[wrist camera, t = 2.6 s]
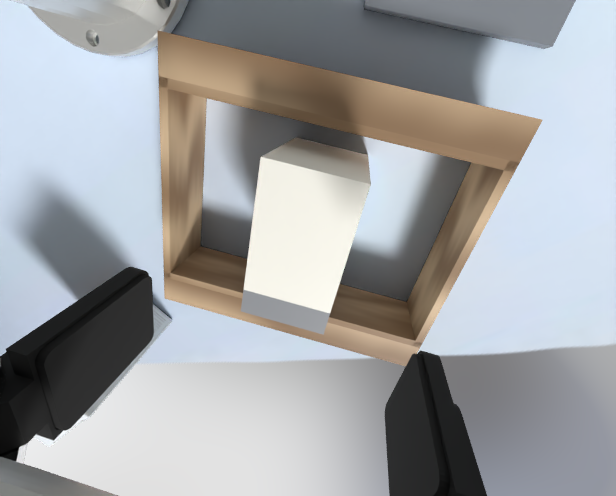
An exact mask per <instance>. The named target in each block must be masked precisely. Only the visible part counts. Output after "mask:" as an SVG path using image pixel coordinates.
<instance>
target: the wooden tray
mask: <svg viewBox="0 0 616 496" xmlns="http://www.w3.org/2000/svg"><path fill="white" fill-rule="evenodd" d="M157 33H158V70H159V107H160V144H161V181H162V218H163V255H164V292H165V299H169V300H172V301H176V302H179V303H183V304H186V305H190V306H194V307H197V308H201V309H204V310H208V311H211V312H215V313H218V314H222V315H225V316H229V317H233V318H236V319H240V320H243V321H247V322H250V323H254V324H257V325H261V326H264V327H268V328H272V329H275V330H279V331H282V332H286V333H289V334H293V335H296V336H300V337H303V338H307V339H311V340H314V341H318V342H321V343H325V344H328V345H332V346H335V347H339V348H342V349H346V350H350V351H353V352H357V353H360V354H364V355H367V356H371V357H374V358H378V359H381V360H385V361H389V362H392V363H396V364H399V365H403V366H406V365H407V363H408V361H409V360H410V358H411V356H412V354H414V353H415V354H417V352H418V350H419V348H420V347H421V345H422V343H423V341H424V339H425V337H426V335H427V334H428V332H429V330H430V328H431V326H432V324H433V322H434V321H435V319H436V317H437V315H438V313H439V311H440V309H441V308H442V306H443V304H444V302H445V300H446V298H447V296H448V295H449V293H450V291H451V289H452V287H453V285H454V283H455V282H456V280H457V278H458V276H459V274H460V272H461V270H462V269H463V267H464V265H465V263H466V261H467V259H468V257H469V256H470V254H471V252H472V250H473V248H474V246H475V244H476V243H477V241H478V239H479V237H480V235H481V233H482V231H483V230H484V228H485V226H486V224H487V222H488V220H489V218H490V217H491V215H492V213H493V211H494V209H495V207H496V205H497V204H498V202H499V200H500V198H501V196H502V194H503V192H504V191H505V189H506V187H507V185H508V183H509V181H510V179H511V178H512V176H513V174H514V172H515V170H516V168H517V166H518V165H519V163H520V161H521V159H522V157H523V155H524V153H525V152H526V150H527V148H528V146H529V144H530V142H531V140H532V139H533V137H534V135H535V133H536V131H537V129H538V127H539V126H540V124H541V122H542V120H541V119H536V118H532V117H528V116H524V115H519V114H515V113H511V112H506V111H502V110H498V109H493V108H489V107H485V106H481V105H476V104H472V103H468V102H463V101H459V100H455V99H450V98H446V97H442V96H438V95H433V94H429V93H425V92H420V91H416V90H412V89H407V88H403V87H399V86H395V85H390V84H386V83H382V82H377V81H373V80H369V79H364V78H360V77H356V76H352V75H347V74H343V73H339V72H334V71H330V70H326V69H321V68H317V67H313V66H309V65H304V64H300V63H296V62H291V61H287V60H283V59H278V58H274V57H270V56H266V55H261V54H257V53H253V52H248V51H244V50H240V49H235V48H231V47H227V46H223V45H218V44H214V43H210V42H205V41H201V40H197V39H192V38H188V37H184V36H180V35H175V34H171V33H167V32H162V31H158V30H157ZM207 98H208V99H212V100H216V101H221V102H225V103H229V104H233V105H237V106H241V107H245V108H249V109H254V110H258V111H262V112H266V113H270V114H274V115H278V116H282V117H286V118H291V119H295V120H299V121H303V122H307V123H311V124H315V125H319V126H324V127H328V128H332V129H336V130H340V131H344V132H348V133H352V134H356V135H361V136H365V137H369V138H373V139H377V140H381V141H385V142H389V143H393V144H398V145H402V146H406V147H410V148H414V149H418V150H422V151H426V152H431V153H435V154H439V155H443V156H447V157H451V158H455V159H459V160H463V161H468V162H471V164H470V166H469V168H468V171H467V173H466V175H465V177H464V179H463V181H462V184H461V186H460V188H459V190H458V192H457V194H456V197H455V199H454V201H453V203H452V205H451V207H450V210H449V212H448V214H447V216H446V218H445V220H444V223H443V225H442V227H441V229H440V231H439V233H438V236H437V238H436V240H435V242H434V244H433V246H432V249H431V251H430V253H429V255H428V257H427V259H426V262H425V264H424V266H423V268H422V270H421V272H420V274H419V277H418V279H417V281H416V283H415V285H414V287H413V290H412V292H411V294H410V296H409V298H408V300H407V302H405V301H401V300H398V299H394V298H390V297H386V296H383V295H379V294H375V293H372V292H368V291H364V290H361V289H357V288H353V287H349V286H346V285H342V284H339V287H338V290H337V293H336V296H335V300H334V303H333V306H332V309H331V312H330V316H329V319H328V322H327V325H326V328H325V331H324V335H323V334H319V333H316V332H312V331H309V330H305V329H302V328H298V327H294V326H291V325H287V324H284V323H280V322H277V321H273V320H270V319H266V318H262V317H259V316H255V315H252V314H248V313H245V312H241V305H242V298H243V290H244V282H245V274H246V267H247V259H246V258H242V257H239V256H235V255H231V254H228V253H224V252H220V251H216V250H213V249H209V248H205V247H202V246H201V224H202V199H203V175H204V150H205V126H206V102H207Z"/></svg>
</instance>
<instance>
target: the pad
mask: <svg viewBox="0 0 616 496" xmlns="http://www.w3.org/2000/svg"><path fill="white" fill-rule="evenodd" d="M575 1H576V0H365V4H364V9H366V10H370V11H375V12H379V13H384V14H388V15H393V16H397V17H402V18H407V19H411V20H416V21H420V22H425V23H429V24H434V25H438V26H443V27H447V28H452V29H456V30H461V31H466V32H470V33H475V34H479V35H484V36H488V37H493V38H497V39H502V40H506V41H511V42H516V43H520V44H525V45H529V46H534V47H538V48H543V49H545V48H549V47H552V46H553V45H554V43H555V41H556V39H557V37H558V35H559V33H560V31H561V29H562V27H563V25H564V23H565V21H566V19H567V17H568V15H569V13H570V11H571V9H572V7H573V5H574V3H575Z"/></svg>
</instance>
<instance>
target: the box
mask: <svg viewBox="0 0 616 496" xmlns="http://www.w3.org/2000/svg"><path fill="white" fill-rule="evenodd" d="M370 185H371V182H370V172H369V161H368V155H366V154H362V153H358V152H354V151H350V150H346V149H342V148H338V147H333V146H329V145H325V144H321V143H317V142H313V141H309V140H305V139H301V138H297V137H296V138H294V139H292V140H291V141H289V142H287V143H285V144H283V145H281V146H280V147H278V148H276V149H274V150H272V151H270V152H268V153H267V154H265V155H263V156H261V158H260V166H259V174H258V181H257V189H256V197H255V205H254V212H253V220H252V228H251V236H250V243H249V251H248V259H247V267H246V274H245V282H244V290H243V298H242V305H241V312H245V313H248V314H252V315H255V316H259V317H262V318H266V319H270V320H273V321H277V322H280V323H284V324H287V325H291V326H294V327H298V328H302V329H305V330H309V331H312V332H316V333H319V334H323V335H324V331H325V328H326V325H327V322H328V319H329V316H330V312H331V309H332V306H333V303H334V300H335V296H336V293H337V290H338V287H339V284H340V281H341V277H342V274H343V271H344V268H345V265H346V261H347V258H348V255H349V252H350V249H351V246H352V242H353V239H354V236H355V233H356V230H357V226H358V223H359V220H360V217H361V214H362V211H363V207H364V204H365V201H366V198H367V195H368V192H369V188H370Z"/></svg>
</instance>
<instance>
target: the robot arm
mask: <svg viewBox="0 0 616 496" xmlns="http://www.w3.org/2000/svg"><path fill="white" fill-rule="evenodd" d="M10 1H14V2H17V3H21V4H24V5H27V6H28V7H29V8H30V9H31V10H32V11H33V13H34V14H35V15H36V16H37V17H38V18H39V19H40V20H41V21H42V22H43V23H44V24H45V25H47V26H48V27H49V28H50V29H51V30H52V31H53V32H54V33H56V34H57V35H59V36H60V37H62V38H63V39H65V40H66V41H68V42H70V43H71V44H73V45H75V46H77V47H80V48H82V49H84V50H87V51H89V52H92V53H97V54H102V55H107V56H117V57H128V56H133V55H138V54H142V53H144V52H146V51H148V50H150V49H152V48H154V47H156V46H157V45H158V33H157V30H158V31H162V32H167V33H171V32H172V31H173V29H174V28H175V26H176V25H177V24H178V22H179V21H180V19H181V17H182V15H183V13H184V11H185V8H186V6H187V4H188V1H189V0H171V2H170V6H169V0H10ZM153 335H154V320H153V295H152V278H151V277H149V275H148V273H147V272H146V271H144V270H140V269H137V268H133V267H128V268H126V269H124V270H123V271H121V272H120V273H118V274H117V275H115V276H114V277H112V278H111V279H109V280H108V281H106V282H105V283H103V284H102V285H101V286H99V287H98V288H96V289H95V290H93V291H92V292H90V293H89V294H87V295H86V296H84V297H83V298H81V299H80V300H78V301H77V302H75V303H74V304H72V305H71V306H69V307H68V308H66V309H65V310H63V311H62V312H60V313H59V314H57V315H56V316H54V317H53V318H51V319H50V320H48V321H47V322H45V323H44V324H42V325H41V326H39V327H38V328H36V329H35V330H33V331H32V332H30V333H29V334H28V335H26V336H25V337H23V338H22V339H20V340H19V341H17V342H16V343H14V344H13V345H11V346H10V347H8V348H7V349H6V351H7V352H6V353H5V354H3V355H2V356H0V496H118V495H114V494H112V493H109V492H106V491H103V490H100V489H97V488H94V487H91V486H88V485H85V484H82V483H79V482H76V481H73V480H70V479H67V478H64V477H61V476H58V475H56V474H52V473H50V472H47V471H44V470H41V469H38V468H35V467H31V466H28V465H25V464H23V463H24V458H25V453H26V448H27V443H28V442H29V441H30V440H31V439H32V438H33V437H34V436H35V435H36V434H37V435H39V436H42V437H45V438H48V439H51V440H53V441H54V440H55V439H56V438H57V437H58V436H59V435H60V434H61V433H62V431H63V430H64V431H66V430H68V429H70V428H71V427H72V426H73V425H74V424H75V423H76V422H77V421H78V420H79V419H80V418H81V417H82V416H83V415H84V414H85V412H86V411H87V410H88V409H89V408H90V407H91V406H92V405H93V404H94V403H95V402H96V401H97V399H98V398H99V397H100V396H101V395H102V394H103V393H104V392H105V391H106V390H107V389H108V387H109V386H110V385H111V384H112V383H113V382H114V381H115V380H116V379H117V378H118V377H119V376H120V374H121V373H122V372H123V371H124V370H125V369H126V368H127V367H128V366H129V365H130V364H131V362H132V361H133V360H134V359H135V358H136V357H137V356H138V355H139V354H140V353H141V352H142V351H143V349H144V348H145V347H146V346H147V345H148V344H149V343H150V342H151V340H152V338H153ZM385 426H386V443H387V458H388V459H387V460H388V476H389V493H390V496H487V494H486V491H485V488H484V485H483V481H482V478H481V475H480V472H479V468H478V465H477V462H476V459H475V456H474V453H473V449H472V446H471V443H470V439H469V436H468V433H467V430H466V427H465V423H464V420H463V417H462V414H461V411H460V409H459V407H458V406H457V405H456V404H453V400H452V397H451V394H450V390H449V387H448V384H447V380H446V376H445V373H444V370H443V366H442V363H441V360H440V357H439V356H438V355H434V354H431V353H427V352H424V351H420V352H418V354H415V353H414V354H412V356H411V358H410V360H409V361H408V363H407V365H406V367H405V369H404V371H403V373H402V375H401V377H400V379H399V381H398V383H397V385H396V387H395V388H394V390H393V392H392V394H391V396H390V398H389V400H388V402H387V404H386V408H385Z"/></svg>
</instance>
